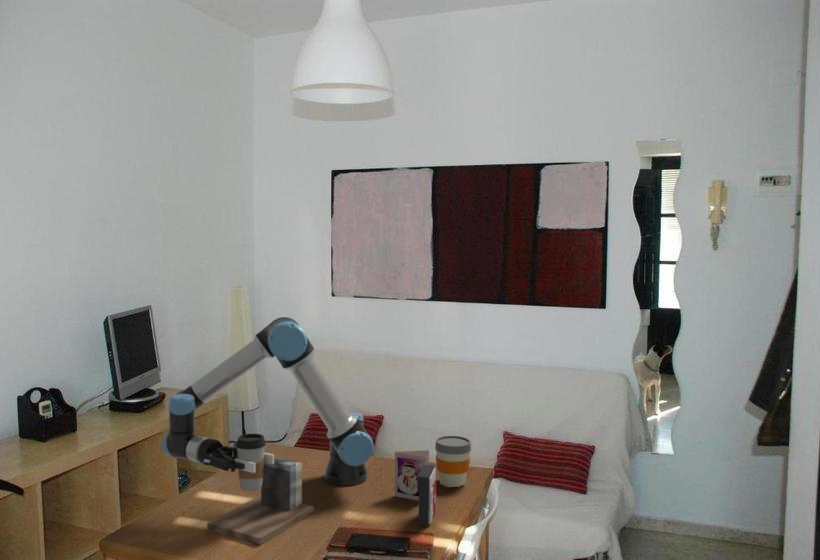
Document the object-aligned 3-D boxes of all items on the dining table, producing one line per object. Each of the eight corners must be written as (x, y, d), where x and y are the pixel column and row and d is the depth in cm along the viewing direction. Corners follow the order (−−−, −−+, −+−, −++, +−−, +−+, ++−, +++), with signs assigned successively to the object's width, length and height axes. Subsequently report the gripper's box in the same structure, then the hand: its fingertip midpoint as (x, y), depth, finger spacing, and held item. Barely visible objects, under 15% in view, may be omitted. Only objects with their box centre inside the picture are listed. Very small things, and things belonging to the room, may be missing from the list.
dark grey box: (430, 527, 198) (431, 477, 197) (416, 525, 199) (417, 476, 198) (436, 512, 209) (437, 465, 208) (423, 510, 210) (423, 464, 209)
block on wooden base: (206, 529, 194) (206, 475, 193) (263, 499, 216) (263, 451, 215) (260, 545, 185) (260, 489, 184) (313, 512, 207) (314, 462, 206)
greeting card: (393, 496, 221) (393, 452, 220) (403, 489, 227) (403, 446, 226) (424, 503, 216) (425, 457, 215) (433, 495, 222) (434, 451, 221)
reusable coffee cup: (433, 488, 228) (433, 445, 227) (435, 475, 241) (436, 434, 240) (469, 490, 227) (470, 447, 226) (470, 477, 239) (471, 436, 238)
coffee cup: (239, 482, 200) (238, 433, 199) (267, 481, 200) (267, 432, 199) (234, 493, 191) (233, 441, 190) (263, 492, 192) (263, 441, 191)
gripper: (229, 453, 213) (286, 465, 202) (179, 473, 195) (239, 487, 184) (228, 430, 212) (286, 441, 202) (179, 447, 194) (239, 461, 184)
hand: (264, 463), depth 193 cm, fingers closed on coffee cup, 7 cm apart
